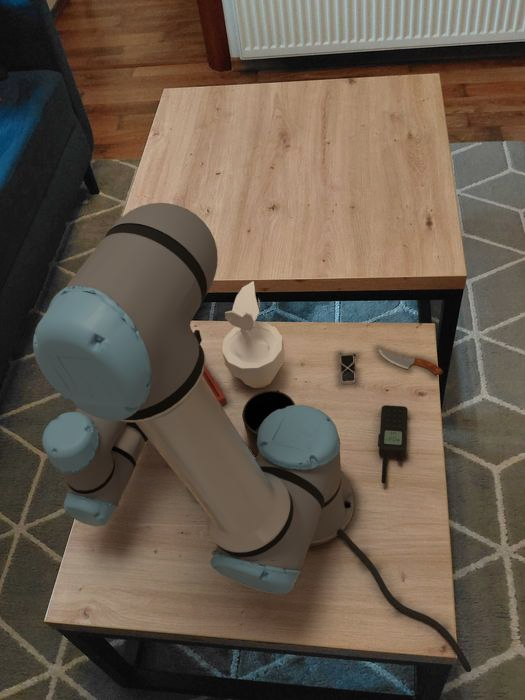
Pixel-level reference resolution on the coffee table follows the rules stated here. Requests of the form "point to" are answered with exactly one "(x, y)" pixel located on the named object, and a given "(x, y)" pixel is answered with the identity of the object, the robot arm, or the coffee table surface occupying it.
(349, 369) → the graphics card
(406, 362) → the knife
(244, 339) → the potted plant
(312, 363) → the coffee table surface
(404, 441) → the walkie-talkie
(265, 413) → the mug
